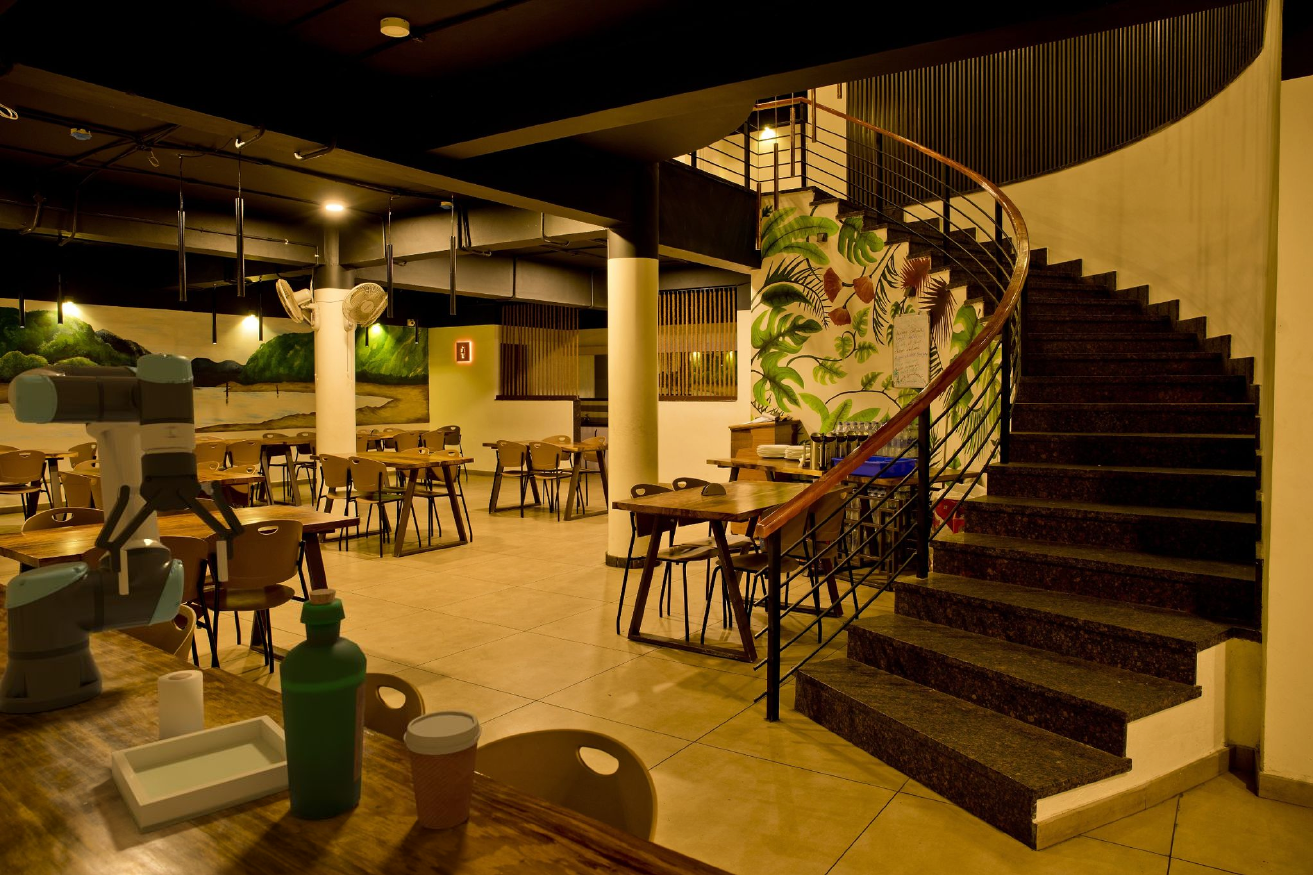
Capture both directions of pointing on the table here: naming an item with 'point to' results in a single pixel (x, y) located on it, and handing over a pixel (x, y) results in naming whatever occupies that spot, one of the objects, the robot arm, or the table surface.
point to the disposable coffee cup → (443, 766)
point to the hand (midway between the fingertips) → (175, 587)
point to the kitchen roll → (180, 703)
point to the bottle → (323, 712)
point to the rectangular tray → (201, 772)
